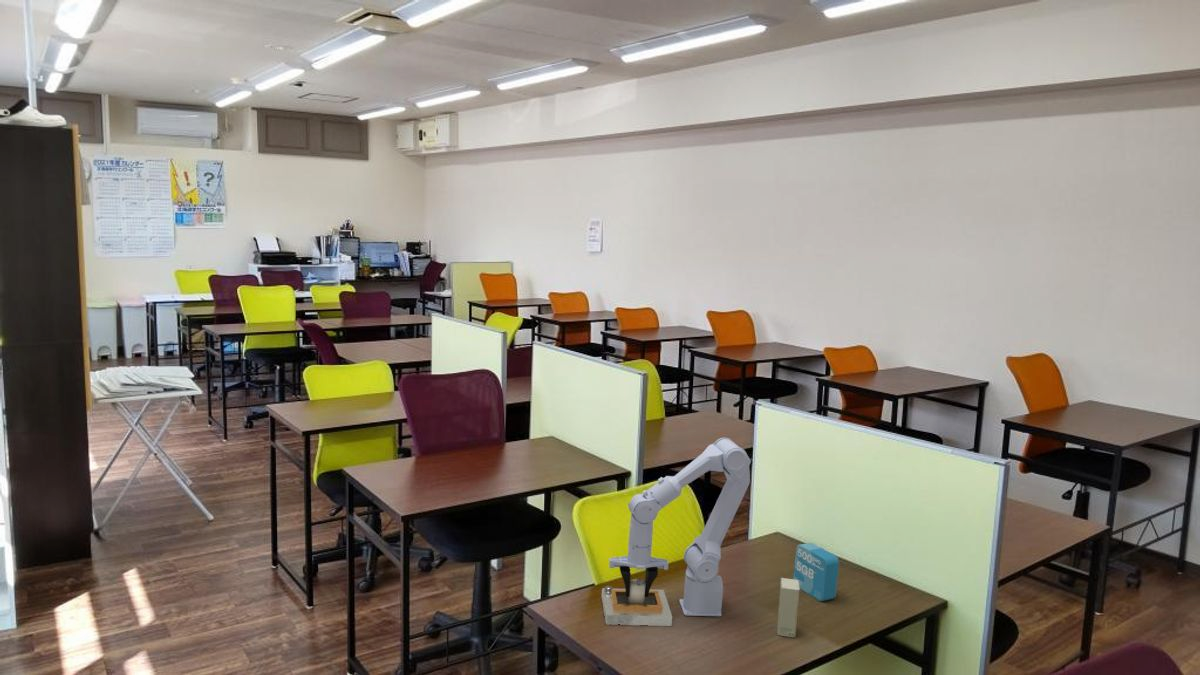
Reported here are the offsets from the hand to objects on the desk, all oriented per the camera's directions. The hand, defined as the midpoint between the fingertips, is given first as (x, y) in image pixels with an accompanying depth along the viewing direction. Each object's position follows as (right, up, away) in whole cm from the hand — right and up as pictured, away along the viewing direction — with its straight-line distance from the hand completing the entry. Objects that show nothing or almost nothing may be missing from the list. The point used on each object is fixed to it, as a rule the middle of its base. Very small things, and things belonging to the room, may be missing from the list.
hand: (636, 595), depth 201 cm
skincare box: (+36, -8, -4) cm, 37 cm away
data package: (+49, -5, +17) cm, 52 cm away
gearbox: (0, -4, +1) cm, 4 cm away
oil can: (0, -2, 0) cm, 2 cm away
